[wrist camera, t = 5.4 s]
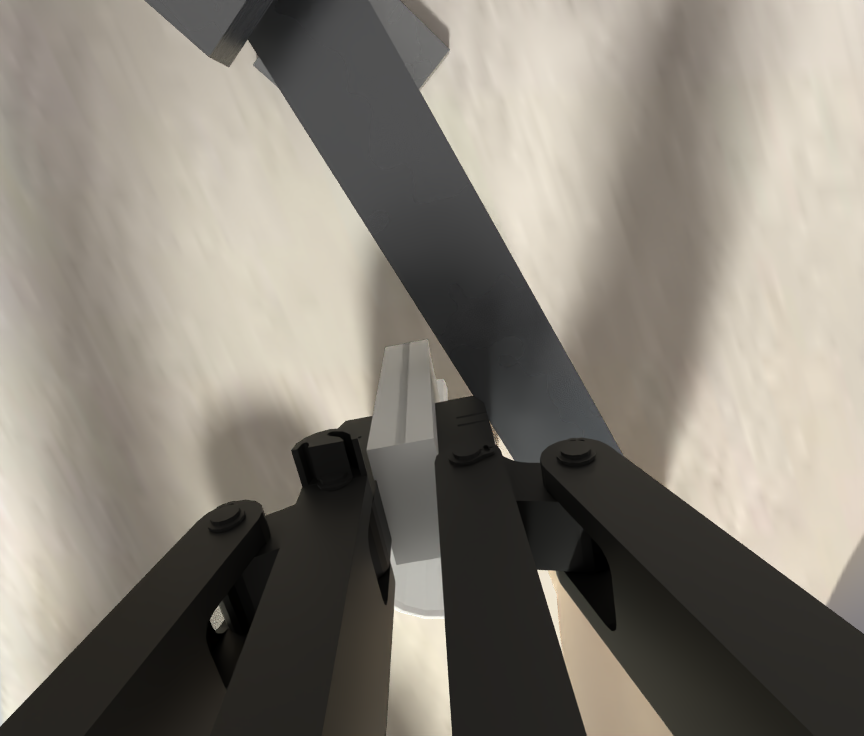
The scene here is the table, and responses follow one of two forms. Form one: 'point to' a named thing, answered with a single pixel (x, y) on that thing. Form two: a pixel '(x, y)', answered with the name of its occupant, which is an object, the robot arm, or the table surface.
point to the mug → (420, 574)
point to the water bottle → (601, 679)
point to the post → (247, 3)
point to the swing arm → (426, 217)
